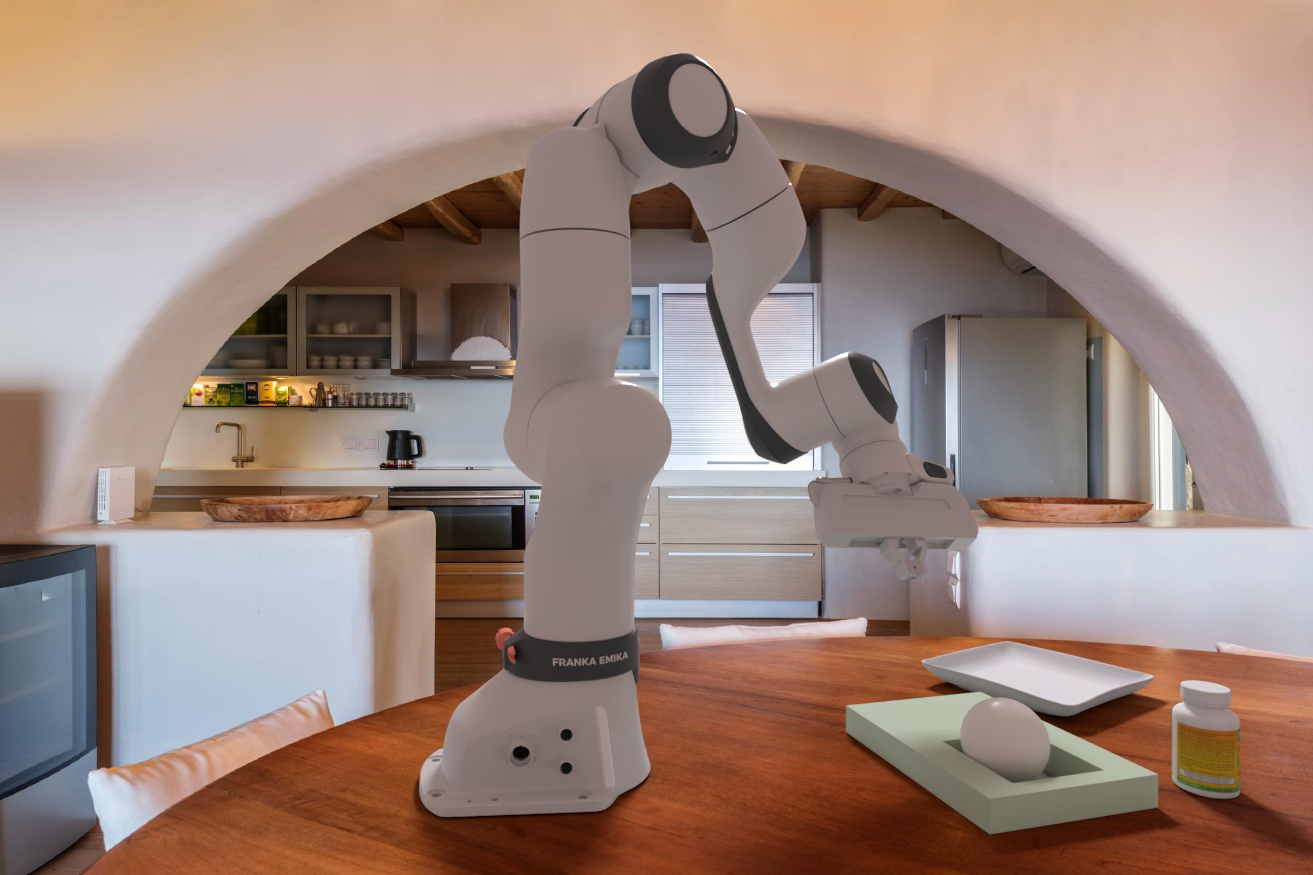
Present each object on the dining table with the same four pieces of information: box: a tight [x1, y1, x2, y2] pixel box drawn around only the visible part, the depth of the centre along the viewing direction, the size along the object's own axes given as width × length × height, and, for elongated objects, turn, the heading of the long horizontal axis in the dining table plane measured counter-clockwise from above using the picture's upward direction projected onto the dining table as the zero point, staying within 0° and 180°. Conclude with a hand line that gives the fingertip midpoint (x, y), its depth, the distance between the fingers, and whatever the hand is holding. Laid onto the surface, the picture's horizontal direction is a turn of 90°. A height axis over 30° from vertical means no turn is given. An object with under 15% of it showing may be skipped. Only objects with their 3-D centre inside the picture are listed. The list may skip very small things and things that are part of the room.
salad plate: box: [921, 640, 1155, 717], centre depth 105 cm, size 21×21×3 cm
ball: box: [960, 697, 1050, 783], centre depth 76 cm, size 8×8×8 cm
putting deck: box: [845, 692, 1159, 835], centre depth 80 cm, size 18×24×3 cm
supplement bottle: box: [1171, 679, 1241, 800], centre depth 75 cm, size 5×5×10 cm
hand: (913, 577), depth 91 cm, fingers closed
